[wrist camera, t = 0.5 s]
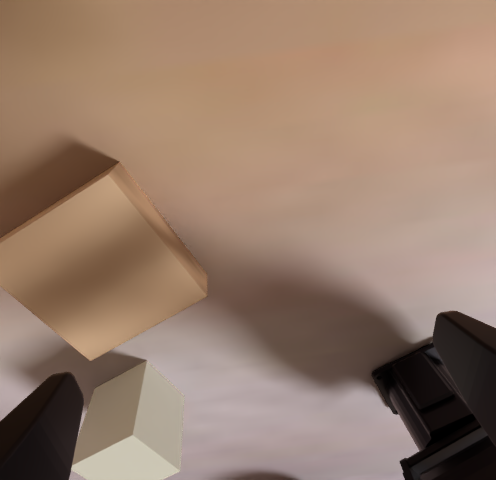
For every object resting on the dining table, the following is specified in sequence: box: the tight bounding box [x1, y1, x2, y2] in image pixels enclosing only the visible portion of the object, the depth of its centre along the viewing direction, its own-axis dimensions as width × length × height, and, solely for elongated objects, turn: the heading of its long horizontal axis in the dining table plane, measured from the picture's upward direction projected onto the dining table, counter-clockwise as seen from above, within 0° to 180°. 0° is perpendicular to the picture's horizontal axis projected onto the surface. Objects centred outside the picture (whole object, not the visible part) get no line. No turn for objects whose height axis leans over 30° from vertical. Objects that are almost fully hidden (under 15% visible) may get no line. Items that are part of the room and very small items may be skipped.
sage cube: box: [71, 361, 184, 480], centre depth 25 cm, size 5×5×6 cm
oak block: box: [0, 162, 207, 361], centre depth 21 cm, size 9×9×3 cm
